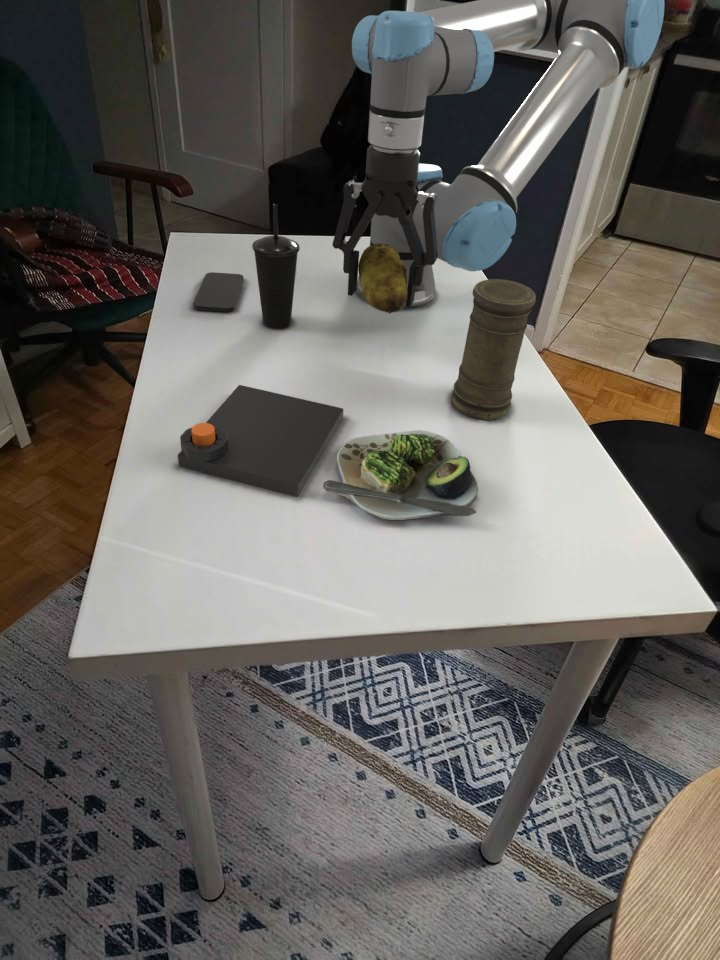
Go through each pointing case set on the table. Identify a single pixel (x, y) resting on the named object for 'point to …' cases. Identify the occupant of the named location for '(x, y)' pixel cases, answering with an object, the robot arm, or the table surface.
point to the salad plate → (405, 476)
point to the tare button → (203, 434)
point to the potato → (383, 278)
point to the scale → (264, 440)
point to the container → (492, 348)
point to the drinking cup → (276, 276)
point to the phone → (219, 292)
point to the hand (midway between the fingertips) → (380, 297)
